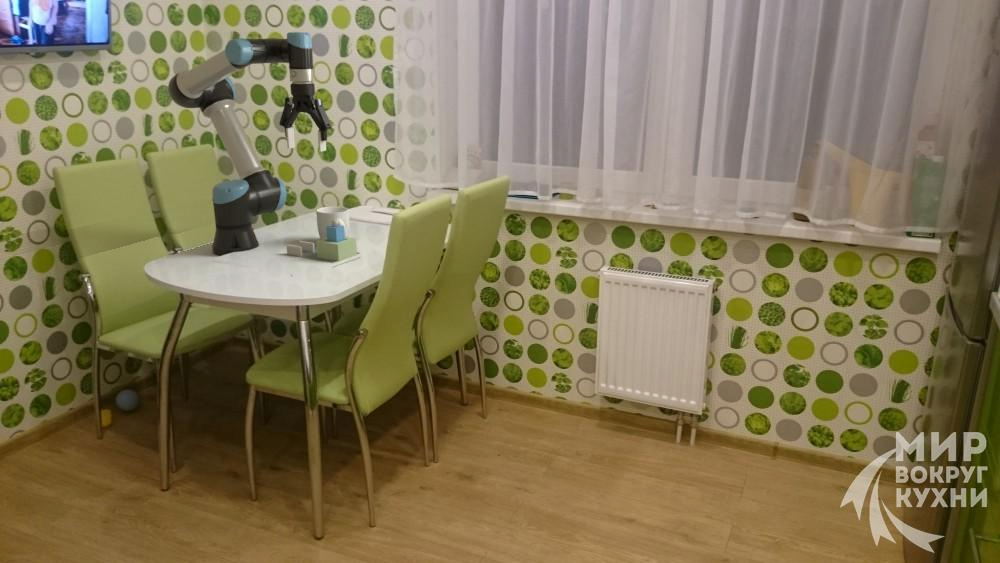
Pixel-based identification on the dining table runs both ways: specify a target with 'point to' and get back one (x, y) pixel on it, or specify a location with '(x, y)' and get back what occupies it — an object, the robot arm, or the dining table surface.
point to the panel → (307, 251)
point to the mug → (329, 214)
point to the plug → (335, 232)
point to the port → (336, 249)
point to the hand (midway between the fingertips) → (306, 149)
